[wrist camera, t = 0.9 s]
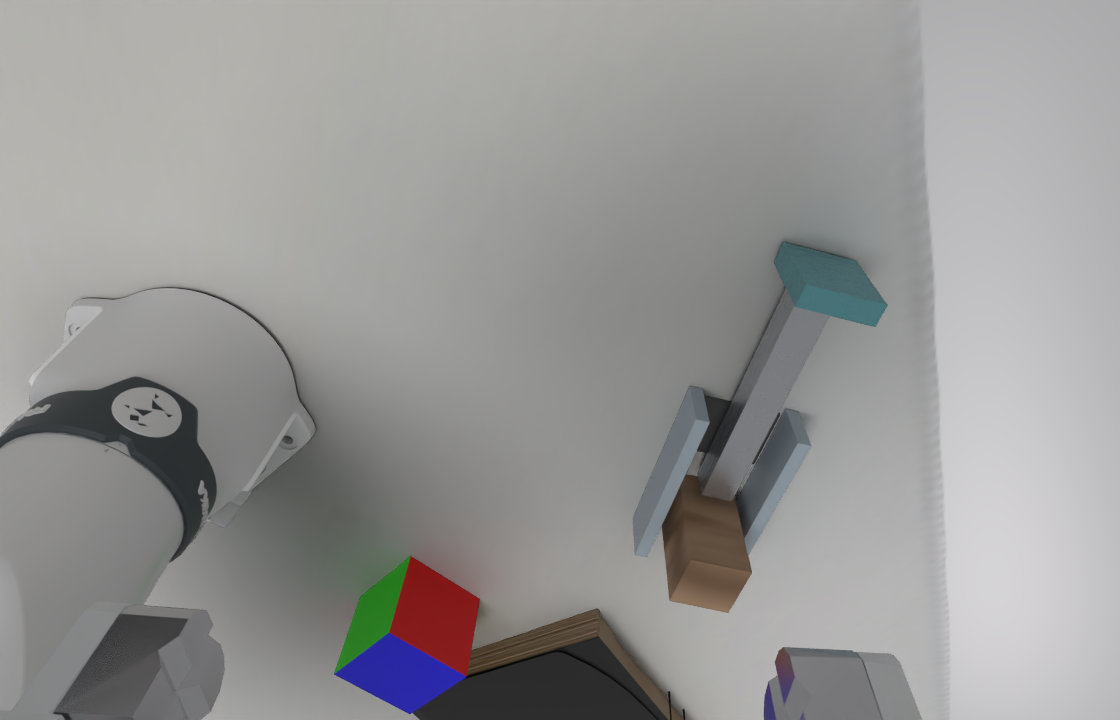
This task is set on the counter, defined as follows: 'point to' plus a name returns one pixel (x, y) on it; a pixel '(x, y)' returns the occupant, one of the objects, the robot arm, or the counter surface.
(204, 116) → the counter surface
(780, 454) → the channel
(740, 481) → the teal headed mallet
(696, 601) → the walnut block
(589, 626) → the black book
